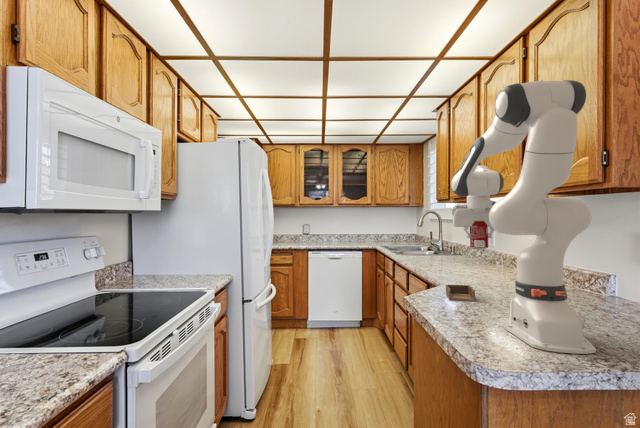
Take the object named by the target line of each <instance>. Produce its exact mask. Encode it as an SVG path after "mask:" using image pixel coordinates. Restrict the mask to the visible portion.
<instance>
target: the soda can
mask: <svg viewBox="0 0 640 428" xmlns="http://www.w3.org/2000/svg"><path fill="white" fill-rule="evenodd" d="M488 228H489V227H487V224H486V223H485V220H474V223H473V224H472V227H469V234H471V238H469V247H470V249H472V250H478V251H479V250H480V251H482V250H484V251H485V250H487V249H489V238H488V233H489V229H488Z"/></svg>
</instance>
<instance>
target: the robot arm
mask: <svg viewBox="0 0 640 428" xmlns="http://www.w3.org/2000/svg"><path fill="white" fill-rule="evenodd" d="M586 99H587V92H586V88H585V86H584V84H583V83H581V82H579V81H576V80H570V79H569V80H568V79H565V80H534V81H529V82H523V83H517V82H515V83H513V84H509V85H506V86H505V87H503V88H501V89H500V91H499V92H498V93H497V95H496V98H495V101H494V102H495V103H494V112H495V115H494V117H493V120H492V122H491V125H490V126H489V127H488V129H487V130H486V131H485V132H484V133H483V134H482V135H481V136H479V137H477V138H476V139H474V141H473V143H472V144H471V147H470V148H469V150H468V152H467V154H466V156H465V157H464V158H463V161H462V162H461V165H460V166H459V168H458V170H457V171H456V172H455V174H454V175H453V177H452V178H451V183H450V187H451V191H452V192H453V193H454V194H455V195H456V196H457V197H459V198H463V197H466V204H462V205H459V204H458V205H455V206H453V207H452V208H451V214H452V226H453V227H454V228H463V231H464V232H465V233H466V238H467V239H470V238H471V234H470V231H468V230H469V228H470V227H472V224H473V223H474V220H485V223H486V224H487V227H488V228H489V232H488V239H491V238H493V233H494V232H497V233H499V234H505V235H509V236H510V235H511V236H536V237H535V240H534V242H533V244H532V245H530V246H529V247H526V248H524V249H523V250H521V251H520V252H519V253H518V254H517V256H516V280H515V282H514V283H515V284H514V288H515V290H514V291H515V294H516V295H515V296H514V297H513V298H512V299H511V300H510V305H509V323H505V324H504V325H503V327H504V328H503V329H505V330H506V331H508V332H509V333H510V334H512V335H513V336H515V337H517V338H518V339H520V340H521V341H522V342H524V343H526V344H527V345H528V346H531V347H532V348H534V349H539V350H543V351H547V352H548V351H549V352H555V353H565V354H580V355H581V354H583V355H586V354H587V355H588V354H595V353H597V349H596V347H595V346H594V345H593V344H592V343H591V342H590V341H589V340H588V339H587V338H586V337H585V335H584V333H583V329H584V328H585V327H586V322H585V319H583V318H578V316H577V313H576V310H573V308H572V307H571V305H570V304H569V302H568V299H569V298H568V294H567V289H566V286H565V284H564V260H565V256H566V252H567V250H568V248H569V246H570V245H571V243H572V242H573V240H575V238H577V236H579V235H580V234H582V233H583V232H585V231H586V230H587V228H589V226H590V225H591V221H592V211H591V209H590V207H589V206H588V204H587V203H586V202H585V201H584V200H581V199H576V198H569V197H564V196H563V197H546V196H548V195H549V193H550V192H551V191H553V190H555V189H557V188H559V187H561V186H563V185H564V184H565V183H566V182H567V181H569V178H570V176H571V172H572V169H573V168H572V167H573V162H574V157H575V152H576V148H577V141H578V116H577V115H578V114H579V113H580V112H581V110H582V109H583V108H584V106H585V103H586V101H587V100H586ZM526 137H527V139H526V143H525V150H524V155H523V161H522V166H521V171H520V174H519V177H518V179H517V181H516V183H515V185H514V186H513V187H512V189H511V190H510V191H509V192H508V193H507V194H506V195H504V197H502V198H501V199H499V200H497V201H495V200H491V196H495V195H498V194H500V192H501V191H502V190H503V189H504V184H505V183H504V181H505V180H504V176H503V175H502V174H501V172H499V171H498V170H497V171H496V170H493V169H489V167H488V166H487V165H484V164H480V163H481V161H483V160H484V159H487V158H489V157H493V156H494V155H499V154H501V153H506V152H509V151H512V150H514V149H516V148H517V147H518V146H520V145H521V144H522V143H523V141H525V138H526Z"/></svg>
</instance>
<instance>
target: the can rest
mask: <svg viewBox="0 0 640 428" xmlns="http://www.w3.org/2000/svg"><path fill="white" fill-rule="evenodd" d="M445 296H446V297H447V298H448V301H456V302H457V301H459V302H476V290H475V289H474V288H473V287H472V286H471V285H469V284H467V285H466V284H464V285H463V284H445Z"/></svg>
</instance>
